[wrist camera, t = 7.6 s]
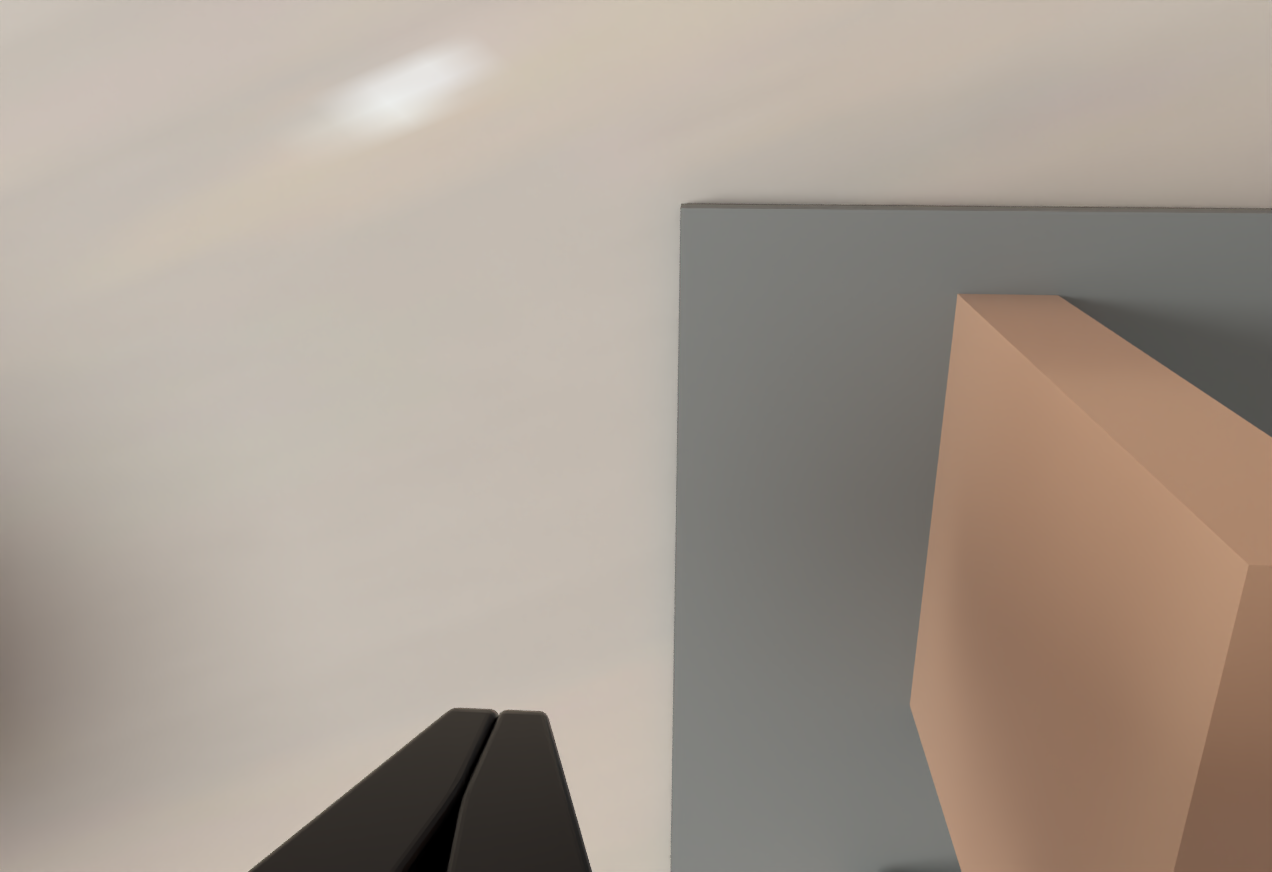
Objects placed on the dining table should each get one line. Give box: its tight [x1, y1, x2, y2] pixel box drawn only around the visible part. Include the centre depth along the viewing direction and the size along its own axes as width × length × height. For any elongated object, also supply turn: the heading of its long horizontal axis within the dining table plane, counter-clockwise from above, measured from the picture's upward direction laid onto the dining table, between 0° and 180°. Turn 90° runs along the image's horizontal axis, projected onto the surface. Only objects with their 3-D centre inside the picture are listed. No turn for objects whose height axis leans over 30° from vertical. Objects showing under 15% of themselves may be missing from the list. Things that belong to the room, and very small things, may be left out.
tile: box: [910, 294, 1272, 872], centre depth 10 cm, size 6×2×7 cm, turn 0°
